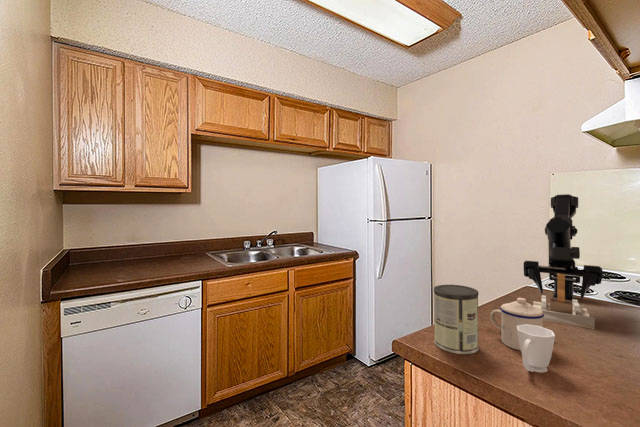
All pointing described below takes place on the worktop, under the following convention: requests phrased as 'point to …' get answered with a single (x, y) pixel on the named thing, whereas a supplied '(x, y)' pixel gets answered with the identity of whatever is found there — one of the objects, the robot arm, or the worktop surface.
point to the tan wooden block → (561, 298)
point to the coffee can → (456, 318)
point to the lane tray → (566, 315)
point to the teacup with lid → (516, 320)
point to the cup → (535, 347)
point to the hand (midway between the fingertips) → (561, 295)
